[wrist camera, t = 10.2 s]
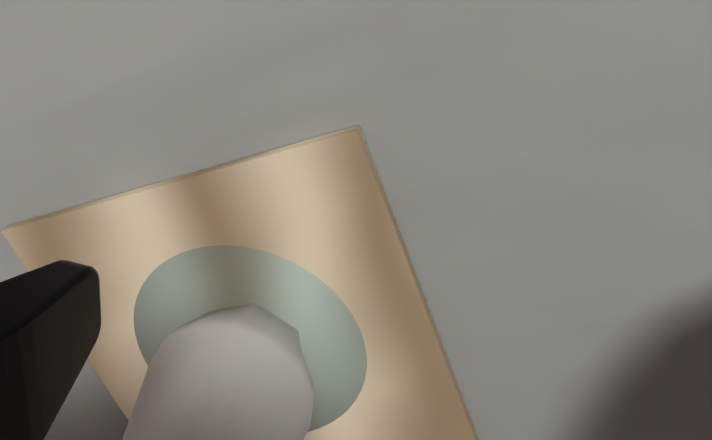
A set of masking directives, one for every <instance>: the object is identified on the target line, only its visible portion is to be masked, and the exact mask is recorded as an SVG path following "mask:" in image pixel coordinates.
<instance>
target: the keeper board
mask: <svg viewBox="0 0 712 440" xmlns="http://www.w3.org/2000/svg"><path fill="white" fill-rule="evenodd" d="M1 232H2V233H3V235H4V236H5V238H6V239H7V241H8V242H9V244H10V245H11V247H12V248H13V250H14V251H15V253H16V254H17V256H18V257H19V259H20V260H21V262H22V263H23V265H24V266H25V268H26V269H27V271H28V272H29V271H32V270H34V269H37V268H39V267H42V266H45V265H47V264H50V263H53V262H56V261H59V260H68V261H72V262H76V263H80V264H84V265H88V266H91V267H93V268H94V269H96V271H97V272H98V275H99V280H100V300H101V329H100V333H99V336H98V339H97V341H96V344H95V345H94V347H93V349H92V351H91V353H90V355H89V357H88V358H87V360H88V362H89V363H90V365H91V366H92V368H93V369H94V371H95V372H96V374H97V375H98V376H99V378H100V379H101V381H102V382H103V384H104V385H105V387H106V388H107V390H108V391H109V393H110V394H111V396H112V397H113V399H114V400H115V402H116V403H117V405H118V406H119V408H120V409H121V411H122V412H123V414H124V415H125V417H126V418H127V420H128V421H129V419H130V416H131V414H132V411H133V408H134V405H135V403H136V400H137V397H138V394H139V391H140V389H141V386H142V383H143V380H144V377H145V375H146V372H147V369H148V366H149V364H150V361H151V359H152V358H153V356H154V355H155V353H156V352H157V350H158V349H159V347H160V346H161V344H162V343H163V341H164V339H165V338H166V337H167V336H168V335H169V334H170V333H171V332H172V331H173V330H174V329H176V328H178V327H180V326H182V325H184V324H186V323H188V322H190V321H192V320H194V319H196V318H198V317H200V316H201V315H203V314H205V313H207V312H209V311H212V310H218V309H224V308H230V307H236V306H242V305H248V304H254V303H256V304H257V305H259V306H261V307H262V308H264V309H265V310H267V311H269V312H270V313H272V314H273V315H275V316H276V317H278V318H280V319H281V320H283V321H284V322H286V323H287V324H289V325H291V326H292V327H294V328H295V329H297V330H298V333H299V339H300V345H301V350H302V353H303V356H304V359H305V362H306V365H307V367H308V370H309V373H310V376H311V379H312V382H313V384H314V387H315V391H314V400H313V409H312V418H311V426H310V428H309V430H308V432H307V433H306V435H305V437H304V439H303V440H478V438H477V435H476V432H475V430H474V427H473V424H472V422H471V419H470V417H469V414H468V411H467V409H466V406H465V403H464V401H463V398H462V395H461V393H460V390H459V388H458V385H457V382H456V380H455V377H454V374H453V372H452V369H451V366H450V364H449V361H448V359H447V356H446V353H445V351H444V348H443V345H442V343H441V340H440V337H439V335H438V332H437V330H436V327H435V324H434V322H433V319H432V316H431V314H430V311H429V308H428V306H427V303H426V300H425V298H424V295H423V293H422V290H421V287H420V285H419V282H418V279H417V277H416V274H415V271H414V269H413V266H412V264H411V261H410V258H409V256H408V253H407V250H406V248H405V245H404V242H403V240H402V237H401V235H400V232H399V229H398V227H397V224H396V221H395V219H394V216H393V213H392V211H391V208H390V206H389V203H388V200H387V198H386V195H385V192H384V190H383V187H382V184H381V182H380V179H379V177H378V174H377V171H376V169H375V166H374V163H373V161H372V158H371V155H370V153H369V150H368V148H367V145H366V142H365V140H364V137H363V134H362V132H361V129H360V126H359V125H358V126H354V127H351V128H347V129H344V130H340V131H337V132H333V133H330V134H326V135H323V136H319V137H316V138H312V139H309V140H305V141H302V142H298V143H295V144H292V145H288V146H285V147H281V148H278V149H274V150H271V151H267V152H264V153H260V154H257V155H253V156H250V157H246V158H243V159H239V160H236V161H232V162H229V163H225V164H222V165H218V166H215V167H211V168H208V169H204V170H201V171H197V172H194V173H190V174H187V175H184V176H180V177H177V178H173V179H170V180H166V181H163V182H159V183H156V184H152V185H149V186H145V187H142V188H138V189H135V190H131V191H128V192H124V193H121V194H117V195H114V196H110V197H107V198H103V199H100V200H96V201H93V202H89V203H86V204H82V205H79V206H75V207H72V208H69V209H65V210H62V211H58V212H55V213H51V214H48V215H44V216H41V217H37V218H34V219H30V220H27V221H23V222H20V223H16V224H13V225H9V226H7V227H6V228H5V229H4V230H2V231H1Z"/></svg>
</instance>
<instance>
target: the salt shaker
mask: <svg viewBox="0 0 712 440" xmlns="http://www.w3.org/2000/svg"><path fill="white" fill-rule="evenodd" d="M314 391H315V387H314V384H313V382H312V379H311V376H310V373H309V370H308V367H307V365H306V362H305V359H304V356H303V353H302V350H301V345H300V339H299V333H298V330H297V329H295V328H294V327H292V326H291V325H289V324H287V323H286V322H284V321H283V320H281V319H280V318H278V317H276V316H275V315H273V314H272V313H270V312H269V311H267V310H265V309H264V308H262V307H261V306H259V305H257V304H256V303H254V304H248V305H242V306H236V307H230V308H224V309H218V310H212V311H209V312H207V313H205V314H203V315H201V316H200V317H198V318H196V319H194V320H192V321H190V322H188V323H186V324H184V325H182V326H180V327H178V328H176V329H174V330H173V331H172V332H171V333H170V334H169V335H168V336H167V337H166V338H165V339H164V341H163V343H162V344H161V346H160V347H159V349H158V350H157V352H156V353H155V355H154V356H153V358H152V359H151V361H150V364H149V366H148V369H147V372H146V375H145V377H144V380H143V383H142V386H141V389H140V391H139V394H138V397H137V400H136V403H135V405H134V408H133V411H132V414H131V416H130V419H129V422H128V425H127V428H126V430H125V433H124V436H123V439H122V440H303V439H304V437H305V435H306V433H307V432H308V430H309V428H310V426H311V418H312V409H313V400H314Z"/></svg>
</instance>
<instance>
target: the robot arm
mask: <svg viewBox="0 0 712 440" xmlns="http://www.w3.org/2000/svg"><path fill="white" fill-rule="evenodd" d="M100 329H101V300H100V280H99V275H98V272H97V271H96V269H94V268H93V267H91V266H88V265H84V264H80V263H76V262H72V261H68V260H59V261H56V262H53V263H50V264H47V265H45V266H42V267H39V268H37V269H34V270H32V271H29V272H26V273H24V274H21V275H18V276H16V277H13V278H10V279H8V280H5V281H3V282H0V440H44V438H45V436H46V434H47V432H48V431H49V429H50V427H51V425H52V423H53V421H54V419H55V418H56V416H57V414H58V412H59V410H60V408H61V407H62V405H63V403H64V401H65V399H66V397H67V395H68V394H69V392H70V390H71V388H72V386H73V384H74V382H75V381H76V379H77V377H78V375H79V373H80V371H81V370H82V368H83V366H84V364H85V362H86V360H87V358H88V357H89V355H90V353H91V351H92V349H93V347H94V345H95V344H96V341H97V339H98V336H99V333H100Z"/></svg>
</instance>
